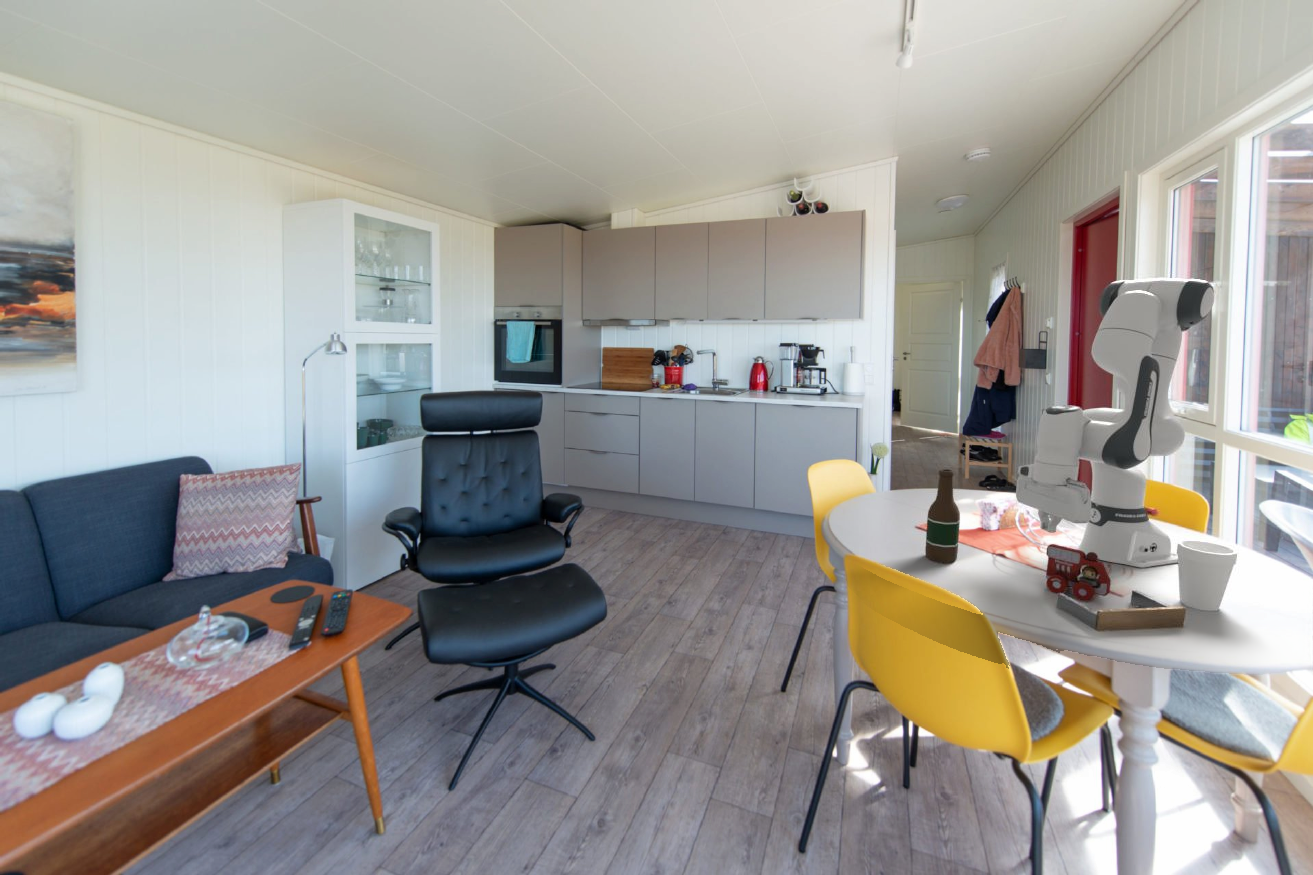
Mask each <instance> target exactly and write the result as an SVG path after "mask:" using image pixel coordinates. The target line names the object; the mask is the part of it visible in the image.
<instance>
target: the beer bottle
mask: <svg viewBox="0 0 1313 875" xmlns="http://www.w3.org/2000/svg"><path fill="white" fill-rule="evenodd" d="M938 475H939V478H938V485H937V490H936V491H937V494H936V497H935V500H934V501H933V502H932V504H930V506H929V509H928V511H927V518H926V534H925V536H926V537H925V550H924V551H925V558H927V559H928V560H929V561H931V562H935V563H939V564H953V563H955V562H956V560H957V559H958V552H959V550H958V549H959V538H960V537H959V536H960V523H961V515H960V514H961V513H960V509H959V507H958V505H957V504H956V502H955V500H954V476H955V471H954V470H952V469H947V468H944V469H943V468H942V469H940V470H939V471H938Z"/></svg>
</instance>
